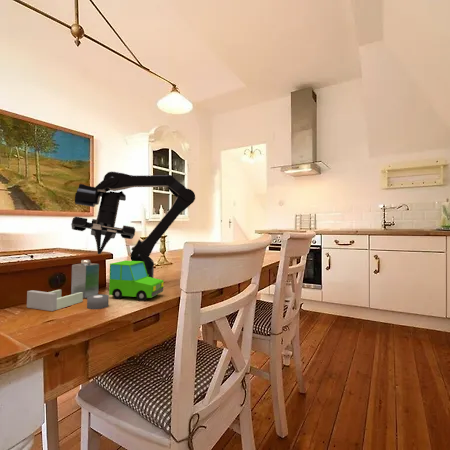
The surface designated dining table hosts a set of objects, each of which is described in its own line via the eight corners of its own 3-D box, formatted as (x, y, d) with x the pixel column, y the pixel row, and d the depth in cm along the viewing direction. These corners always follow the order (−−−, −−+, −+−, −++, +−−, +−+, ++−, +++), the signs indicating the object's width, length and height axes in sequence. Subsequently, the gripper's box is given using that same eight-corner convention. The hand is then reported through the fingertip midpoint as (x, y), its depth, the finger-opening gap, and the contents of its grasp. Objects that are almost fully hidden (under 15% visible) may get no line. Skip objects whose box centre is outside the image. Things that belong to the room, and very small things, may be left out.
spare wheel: (97, 302, 74) (97, 293, 74) (112, 304, 72) (112, 295, 72) (82, 308, 69) (82, 297, 69) (98, 310, 67) (98, 299, 67)
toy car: (150, 303, 75) (151, 266, 75) (106, 299, 77) (107, 264, 77) (165, 294, 85) (166, 262, 85) (126, 291, 87) (127, 260, 87)
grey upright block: (84, 292, 84) (85, 258, 84) (98, 294, 82) (99, 259, 82) (71, 296, 79) (72, 260, 79) (85, 298, 77) (86, 261, 77)
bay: (59, 298, 77) (59, 284, 77) (82, 301, 74) (82, 286, 74) (26, 307, 68) (27, 291, 68) (52, 311, 66) (52, 294, 66)
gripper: (133, 221, 103) (126, 262, 97) (77, 211, 95) (66, 255, 90) (138, 211, 93) (131, 256, 88) (77, 198, 86) (65, 247, 80)
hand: (99, 254), depth 86 cm, fingers closed
